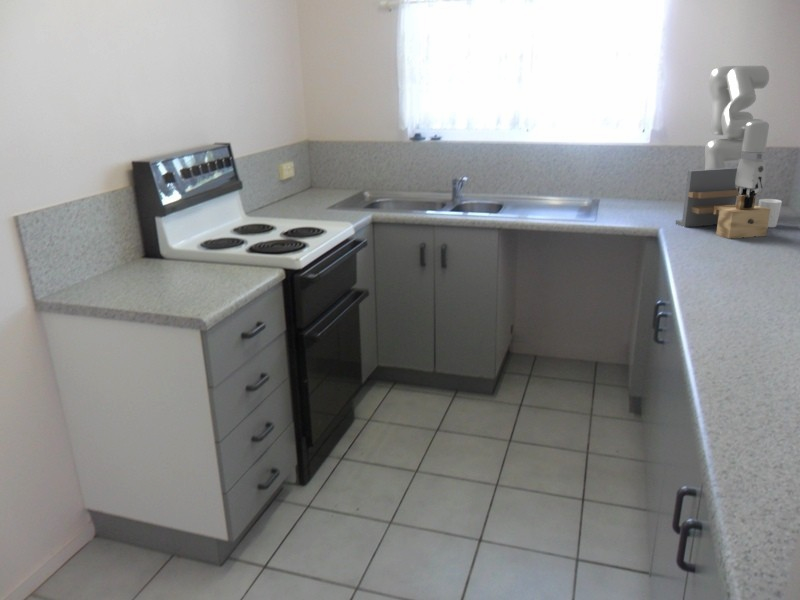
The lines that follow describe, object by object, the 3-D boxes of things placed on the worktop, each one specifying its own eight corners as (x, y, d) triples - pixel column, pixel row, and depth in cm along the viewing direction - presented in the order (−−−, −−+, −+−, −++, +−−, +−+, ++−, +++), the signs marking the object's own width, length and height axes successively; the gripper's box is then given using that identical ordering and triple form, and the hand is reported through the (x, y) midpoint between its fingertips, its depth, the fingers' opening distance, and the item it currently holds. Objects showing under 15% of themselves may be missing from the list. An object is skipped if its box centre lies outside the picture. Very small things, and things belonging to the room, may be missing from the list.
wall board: (675, 223, 267) (681, 169, 260) (722, 220, 271) (730, 166, 264) (691, 229, 257) (698, 172, 250) (740, 225, 262) (748, 169, 255)
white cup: (755, 227, 259) (759, 201, 256) (755, 222, 265) (759, 198, 262) (777, 228, 255) (782, 203, 252) (777, 224, 262) (781, 199, 259)
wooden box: (708, 232, 252) (713, 193, 248) (744, 229, 256) (750, 190, 251) (730, 239, 241) (736, 198, 236) (768, 236, 244) (774, 195, 240)
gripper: (778, 158, 231) (769, 210, 237) (745, 153, 246) (738, 202, 252) (759, 159, 229) (751, 211, 235) (728, 154, 244) (721, 204, 250)
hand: (745, 206), depth 243 cm, fingers closed on wooden box
